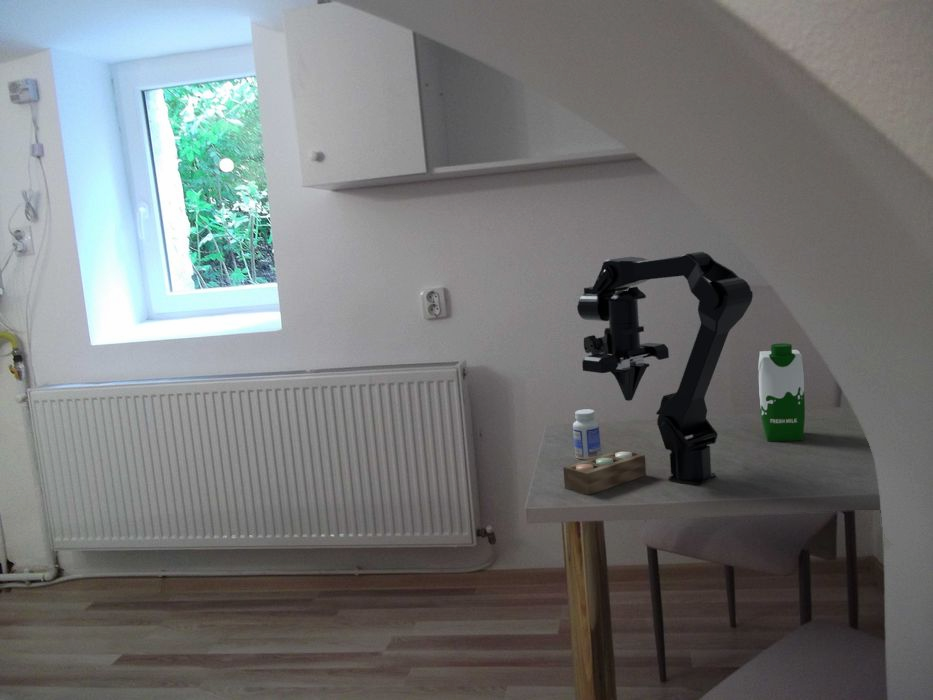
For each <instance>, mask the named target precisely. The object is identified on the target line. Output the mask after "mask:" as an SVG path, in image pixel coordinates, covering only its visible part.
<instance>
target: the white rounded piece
mask: <svg viewBox="0 0 933 700" xmlns="http://www.w3.org/2000/svg"><path fill="white" fill-rule="evenodd" d="M631 452H632V451H630V452H618V453H616V454H615V457H618V458H622V459H625V458H628V457H631V456H632V453H631Z"/></svg>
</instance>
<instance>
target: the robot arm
mask: <svg viewBox="0 0 933 700" xmlns="http://www.w3.org/2000/svg"><path fill="white" fill-rule="evenodd" d="M673 277H674V278H675V277H683V278H685V279H686V280H687V284H688V286H689V289H690V292H691V294H693V296H694V297H695V298H697V300H698V306H697V312H698V316H699V317H698V318H699V320H700V325H699V329H698V330H697V331H698V332H697V334H696V336H695V340H694V341H693V342H694V343H693V346H692V349H691V352H690V355H689V357H688V359H687V363H686V366H685V368H684V370H683V374H682V377H681V381H680V382H679V386H678V389H677V391H676V392H673V393H669V394H666V395H663V396H662V398H661V400H660V406H659V409H658V410H657V411H656V413H655V414H656V415H658V417H657V419H656V420H657V421H656V424H657V426H658V430H659V432H660V433H659V434H660V436H661V439H662V442H663V445H664V449H665V450H668V451H670V453H669V464H670V466H669V467H670V474H671V475H670V476H669V477H668V478H667V479H668V481H672V482H678V483H684V484H689V485H695V486H699V485H700V486H701V485H703V484H704V483H706V482H707V481H710V480H712V479H713V478H715V477H716V476H717V474H716V473H715V472H712V464H711V463H712V460H711V459H712V458H711V446H710V445H714V444H716V442H717V439H718V432H717V431H716V430H715V429H714V427H713V426H712V425H711V423H710V422H709V420H708V419H707V413H708V409H707V407H708V406H707V403H706V400H705V397H706V395H707V391H708V389H709V386H710V383H711V381H712V377H713V375H714V373H715V370H716V368H717V364H718V362H719V359H720V356H721V354H722V351H723V348H724V346H725V343H726V340H727V337H728V335H729V332H730V331H731V330H732V329H733V327H734V326H735V325H736V324H737V323H738V322H739V321H740V320H741V319H742V318H743V317H744V315H745V313H746V312H747V310H748V308H749V307H750V305H751V303H752V301H753V297H754V296H753V291H752V290H751V286H750V284H749V283H748V282H747V281H746V280H745V279H743V278H741V277H739V275H737V274H736V273H735V272H734V271H733V270H732V269H729V268H728V267H726V266H725V265H724V264H723V265H722V264H721V263H719V262H717V261H716V260H714V258H713V257H712V256H711V255H710V254H708V253H707V252H704V251H696V252H688V253H685V254H683V255H678V256H677V255H676V256H670V257H662V258H655V259H654V258H653V259H648V258H647V259H646V258H643V257H636V256H626V257H625V256H624V257H618V258H610V259H606V260H604V261H603V263H602V266H601V269H600V271H599V274H598V275H597V278H596V280H595V283H594V284H593V286H588V287H583V294H582V295H580V298H579V300H578V303H577V305H576V306H577V308H576V309H577V313H578V315H579V316H580V318H582V319H583V320H585V321H586V320H587V321H597V322H598V321H599V322H608V324H609V327H606V328H604V331H603V332H604V335H603V336H601V337H597V336H596V335H595V334H591V335H589V336H585V337H584V338H583V349H584V352H585V353H586V354H591V355H587V356H586V355H585V356H584V358H583V359H582V361H581V362H582V371H583V372H591V373H597V374H598V373H599V374H606V373H611V374H612V375H613V376H614V378H615V380H616V381H617V384H618V387H619V388H620V391H621V393H622V395H623V397H624V400H625V401H628V402H630V401H632V400H633V398H634V397H635V394H636V392H637V389H638V387H639V385H640V382H641V379H642V378H643V376H644V374H645V372H646V370H647V368H648V367H650V363H647V362H646V363H645V360H644V359H645V358H649V357H654V358H656V359H657V360H658V361H659V360H660V361H661V360H666V359H669V357H670V355H669V354H670V353H669V348H668V346H667V345H666V344H665V343H656V342H645V343H641V336H640V335H641V334H640V333H643V332H645V327H644V325H640V320H639V319H640V316H639V303H638V301H639V300H642V299H643V300H644V299H646V298H647V295H646V294H645V293H644V292H643V291H641V290H640V289H639V287H638V285H640V284H643V283H646V282H647V281H650V280H653V279H654V280H655V279H665V278H673ZM709 281H710V282H709ZM691 435H692V437H689V436H691ZM686 437H689V438H686Z"/></svg>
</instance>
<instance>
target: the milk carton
mask: <svg viewBox="0 0 933 700" xmlns="http://www.w3.org/2000/svg"><path fill="white" fill-rule="evenodd" d="M757 364H758V367H757V369H758V390H759V391H758V392H759V394H758V395H759V412H760V414H759V415H760V417H761V424H762V429H763V433H764V435H765V438H766V440H767V442H786V441H787V442H789V441H795V442H796V441H804V431H805V419H806V418H805V417H806V413H805V412H806V411H805V409H806V406H805V376H804V359H803V355H802V354H801V352H800V350H797V349H793V348H792V344H791V343H784V342H783V343H773V344H771V345H770V350H763V351H761V350H759V358H758V363H757Z"/></svg>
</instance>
